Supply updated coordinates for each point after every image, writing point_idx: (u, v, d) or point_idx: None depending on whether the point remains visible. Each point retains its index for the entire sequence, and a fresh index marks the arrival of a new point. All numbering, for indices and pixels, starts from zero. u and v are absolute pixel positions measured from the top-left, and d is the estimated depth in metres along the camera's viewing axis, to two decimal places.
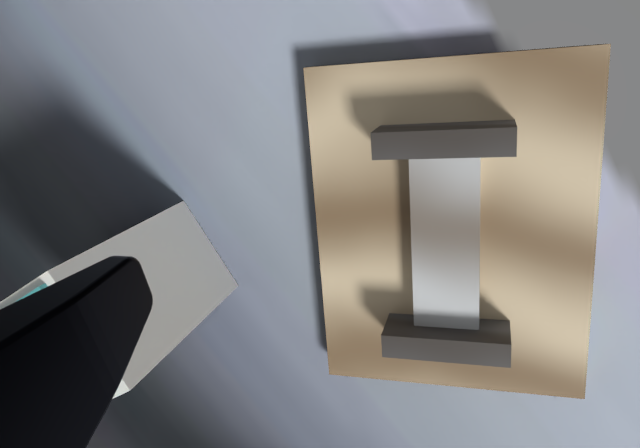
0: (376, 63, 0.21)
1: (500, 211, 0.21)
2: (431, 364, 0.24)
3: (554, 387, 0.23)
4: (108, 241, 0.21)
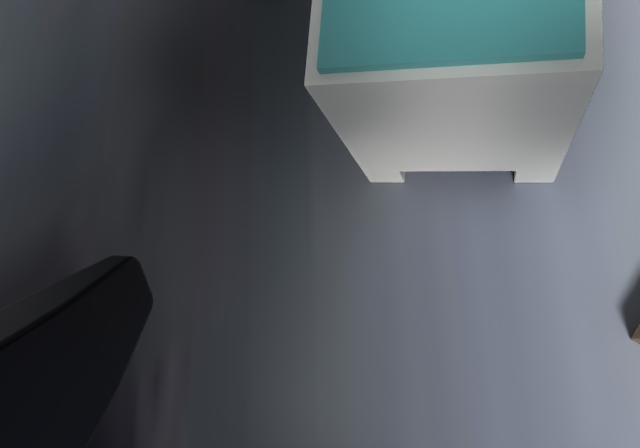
0: None
1: None
2: None
3: None
4: None
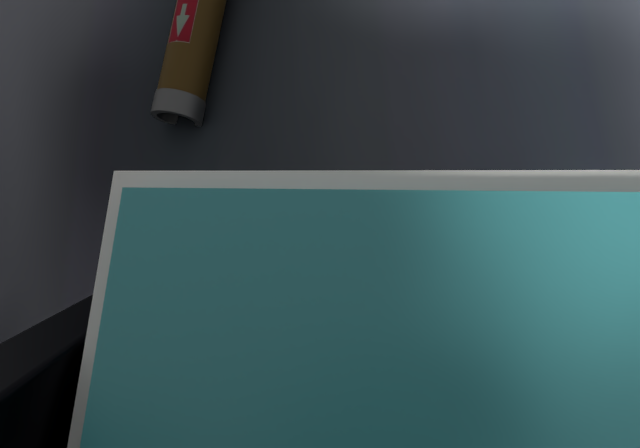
0: None
1: None
2: None
3: None
4: None
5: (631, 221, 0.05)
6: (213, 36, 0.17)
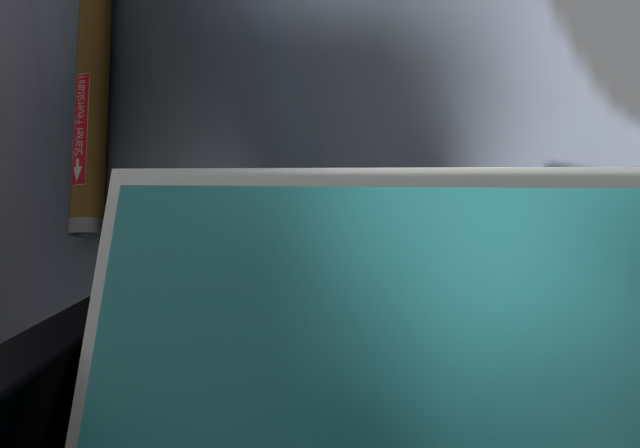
0: None
1: None
2: None
3: None
4: None
5: (626, 217, 0.05)
6: (101, 175, 0.26)
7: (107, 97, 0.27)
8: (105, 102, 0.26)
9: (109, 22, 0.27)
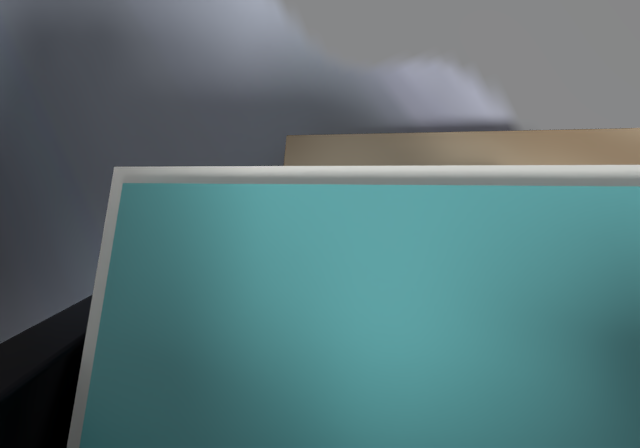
0: (373, 135, 0.17)
1: None
2: None
3: None
4: None
5: (630, 214, 0.05)
6: None
7: None
8: None
9: None
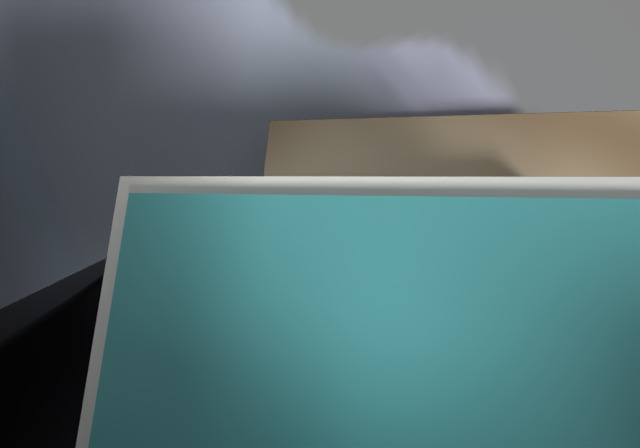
0: (362, 120, 0.16)
1: None
2: None
3: None
4: None
5: (626, 227, 0.05)
6: None
7: None
8: None
9: None
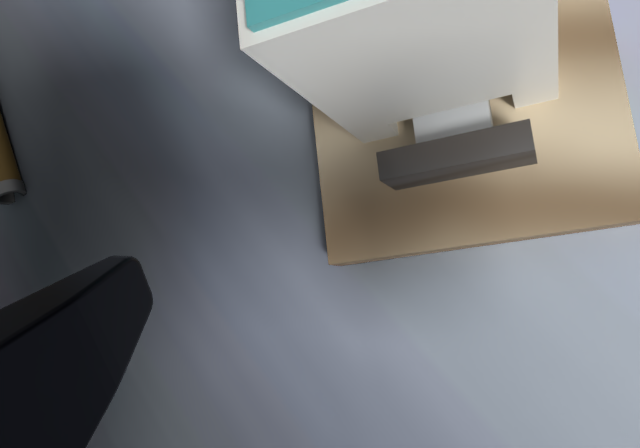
0: None
1: None
2: (448, 218, 0.20)
3: (608, 211, 0.17)
4: None
5: None
6: (5, 147, 0.30)
7: None
8: None
9: None
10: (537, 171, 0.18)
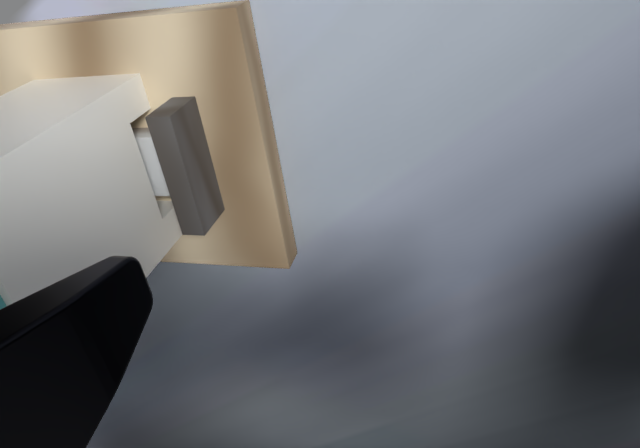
0: None
1: None
2: (246, 172, 0.22)
3: (232, 43, 0.19)
4: None
5: None
6: None
7: None
8: None
9: None
10: (201, 96, 0.21)
